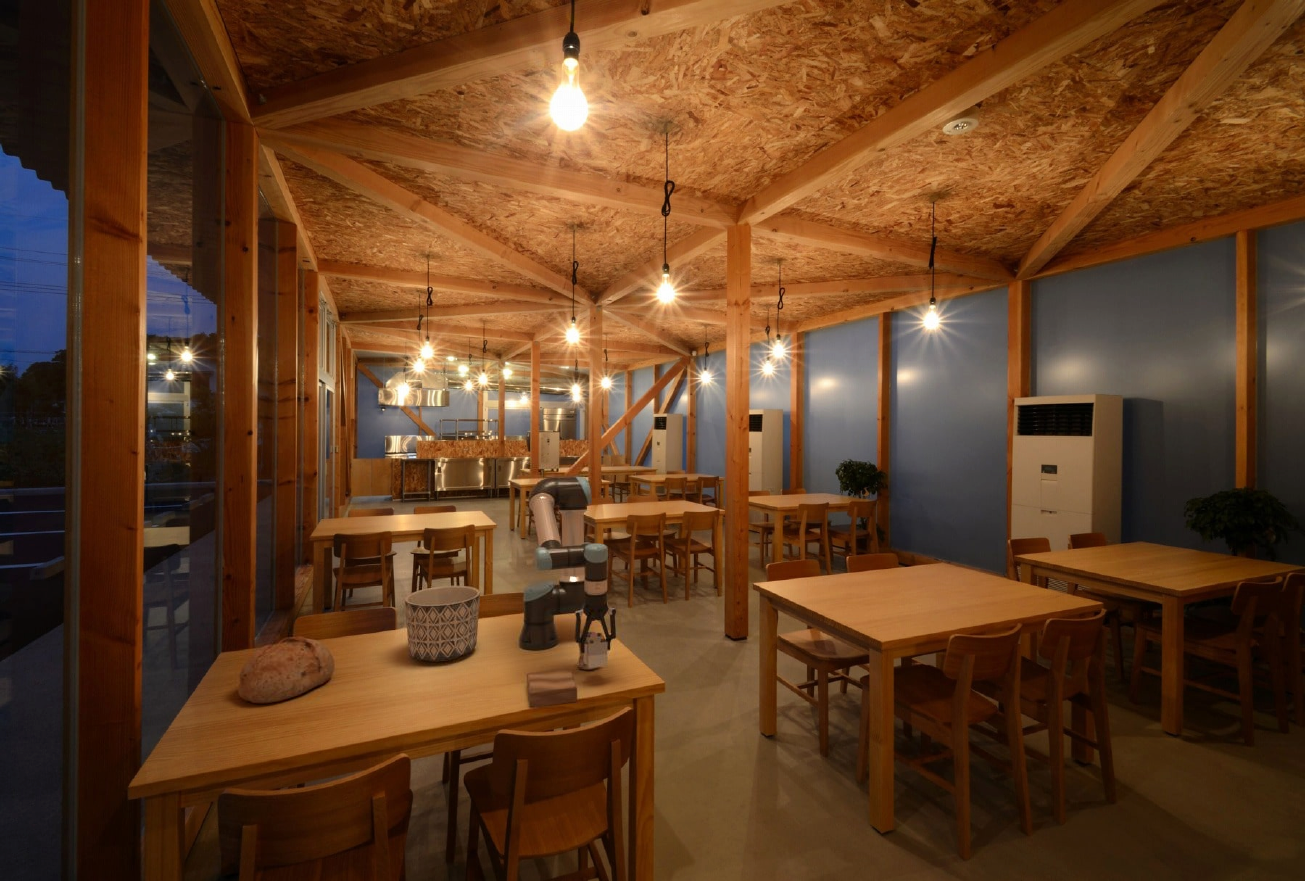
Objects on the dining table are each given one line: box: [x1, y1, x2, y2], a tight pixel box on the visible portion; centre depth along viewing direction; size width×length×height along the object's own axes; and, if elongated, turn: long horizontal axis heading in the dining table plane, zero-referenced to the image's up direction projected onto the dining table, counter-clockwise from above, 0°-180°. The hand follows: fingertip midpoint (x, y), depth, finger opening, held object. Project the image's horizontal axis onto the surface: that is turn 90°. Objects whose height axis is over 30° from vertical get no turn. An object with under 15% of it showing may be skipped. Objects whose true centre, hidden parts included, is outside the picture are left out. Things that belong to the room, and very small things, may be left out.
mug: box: [576, 631, 599, 671], centre depth 196 cm, size 12×9×11 cm
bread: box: [237, 636, 335, 704], centre depth 178 cm, size 26×23×15 cm
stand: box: [526, 668, 578, 709], centre depth 174 cm, size 15×14×4 cm
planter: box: [404, 585, 481, 663], centre depth 205 cm, size 26×26×22 cm
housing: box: [586, 632, 608, 669], centre depth 183 cm, size 8×6×8 cm
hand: (595, 661), depth 183 cm, fingers closed on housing, 6 cm apart
